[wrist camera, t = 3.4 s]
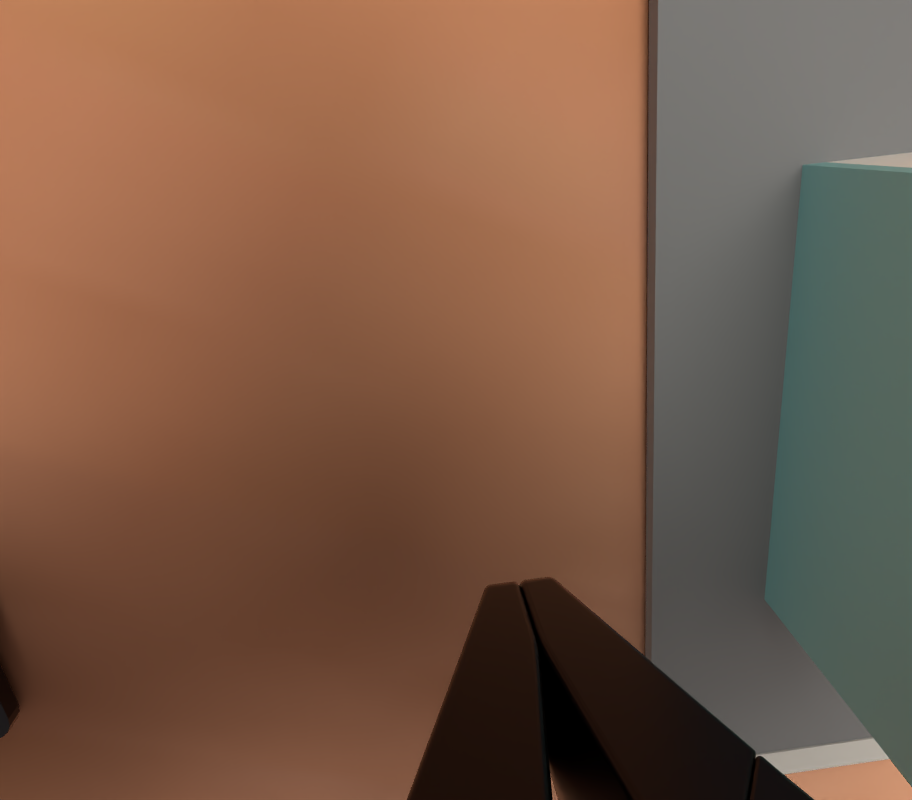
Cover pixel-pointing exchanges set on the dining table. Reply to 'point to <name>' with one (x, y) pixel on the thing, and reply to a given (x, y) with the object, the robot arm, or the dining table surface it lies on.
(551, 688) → the robot arm
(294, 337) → the dining table surface
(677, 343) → the mat
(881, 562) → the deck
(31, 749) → the dining table surface
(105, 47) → the dining table surface
